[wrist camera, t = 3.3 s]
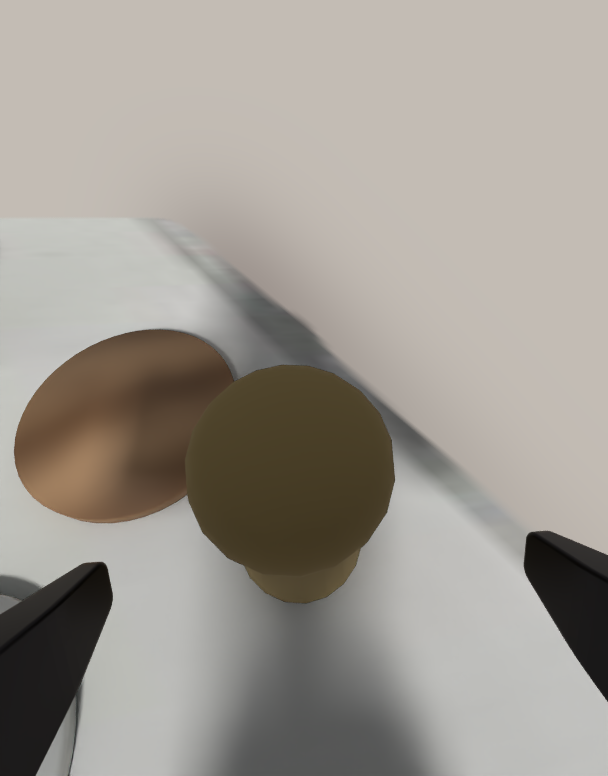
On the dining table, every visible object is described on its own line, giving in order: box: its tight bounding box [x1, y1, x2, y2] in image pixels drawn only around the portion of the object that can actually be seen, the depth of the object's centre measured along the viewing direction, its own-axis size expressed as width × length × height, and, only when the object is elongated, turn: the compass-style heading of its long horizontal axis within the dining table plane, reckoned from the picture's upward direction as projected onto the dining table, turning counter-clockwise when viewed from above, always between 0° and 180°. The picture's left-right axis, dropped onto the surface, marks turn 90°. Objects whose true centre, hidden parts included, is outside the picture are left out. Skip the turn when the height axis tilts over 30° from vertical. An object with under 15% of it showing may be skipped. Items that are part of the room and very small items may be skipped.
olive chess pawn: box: [185, 365, 395, 603], centre depth 12 cm, size 6×6×11 cm
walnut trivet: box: [14, 330, 234, 523], centre depth 20 cm, size 12×12×1 cm
